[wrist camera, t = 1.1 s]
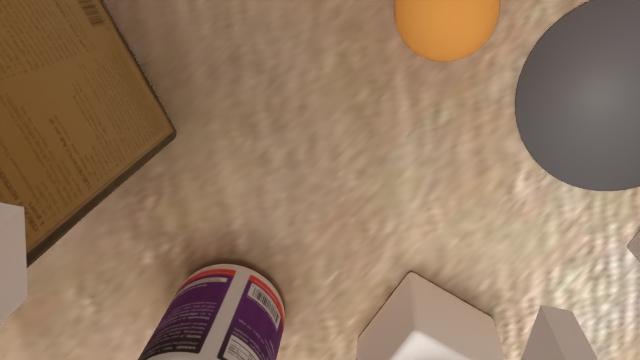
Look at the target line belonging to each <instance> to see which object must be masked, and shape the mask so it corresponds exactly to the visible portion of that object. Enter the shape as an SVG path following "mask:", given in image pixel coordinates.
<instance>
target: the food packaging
mask: <svg viewBox="0 0 640 360" xmlns="http://www.w3.org/2000/svg"><path fill="white" fill-rule="evenodd" d="M175 136H176V132H175V130H174V128H173V126H172V124H171V122H170V120H169V118H168V117H167V115H166V113H165V111H164V109H163V108H162V106H161V104H160V102H159V101H158V99H157V97H156V96H155V94H154V92H153V90H152V88H151V87H150V85H149V83H148V81H147V80H146V78H145V76H144V74H143V73H142V71H141V69H140V67H139V66H138V64H137V62H136V60H135V59H134V57H133V55H132V53H131V51H130V50H129V48H128V46H127V44H126V43H125V41H124V39H123V37H122V36H121V34H120V32H119V31H118V29H117V27H116V25H115V23H114V21H113V19H112V17H111V15H110V13H109V11H108V9H107V7H106V6H105V4H104V2H103V1H102V0H0V203H5V204H10V205H16V206H21V207H24V215H25V239H26V263H27V268H28V267H29V266H30V265H31V264H32V263H33V262H34V261H36V260H37V259H38V258H39V257H40V256H41V255H42V254H43V253H45V252H46V251H47V250H48V249H49V248H50V247H51V246H53V245H54V244H55V243H56V242H57V241H58V240H59V239H60V238H61V237H62V236H64V235H65V234H66V233H67V232H68V231H69V230H70V229H71V228H72V227H73V226H75V225H76V224H77V223H78V222H79V221H80V220H81V219H82V218H83V217H84V216H85V215H87V214H88V213H89V212H90V211H91V210H92V209H93V208H94V207H96V206H97V205H98V204H99V203H100V202H101V201H103V200H104V199H105V198H106V197H107V196H108V195H110V194H111V193H112V192H113V191H114V190H115V189H116V188H118V187H119V186H120V185H121V184H122V183H123V182H125V181H126V180H127V179H128V178H129V177H130V176H131V175H133V174H134V173H135V172H136V171H137V170H138V169H140V168H141V167H142V166H143V165H144V164H145V163H147V162H148V161H149V160H150V159H151V158H152V157H154V156H155V155H156V154H157V153H158V152H159V151H160V150H162V149H163V148H164V147H165V146H166V145H167V144H168V143H170V142H171V141H172V140H173V139H174V138H175Z"/></svg>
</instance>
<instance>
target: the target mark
mask: <svg viewBox="0 0 640 360" xmlns="http://www.w3.org/2000/svg"><path fill="white" fill-rule="evenodd" d="M515 115H516V121H517V126H518V130H519V133H520V136H521V139H522V141H523V143H524V145H525V147H526V149H527V150H528V151H529V153H530V154H531V156H532V157H533V159H534V160H535V161H536V162H537V163H538V164H539V165H540V166H541V167H542V168H543V169H544V170H546V171H547V172H548V173H549V174H551V175H552V176H554V177H555V178H557V179H559V180H561V181H563V182H565V183H567V184H570V185H572V186H575V187H579V188H583V189H588V190H595V191H617V190H626V189H631V188H635V187H639V186H640V0H592V1H589V2H587V3H585V4H583V5H581V6H579V7H577V8H576V9H574V10H572V11H571V12H569V13H568V14H566V15H565V16H564V17H562V18H561V19H560V20H559V21H557V22H556V23H555V24H554V25H553V26H552V27H551V28H550V29H549V30H548V31H547V32H546V33H545V34H544V35H543V36H542V38H541V39H540V40H539V41H538V43H537V44H536V45H535V47H534V48H533V50H532V51H531V53H530V55H529V57H528V59H527V60H526V62H525V64H524V67H523V69H522V72H521V75H520V78H519V82H518V86H517V90H516V99H515Z"/></svg>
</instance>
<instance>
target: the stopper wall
mask: <svg viewBox="0 0 640 360" xmlns="http://www.w3.org/2000/svg"><path fill="white" fill-rule="evenodd" d="M627 248H628V249H629V250H630V251H631V252H632V254H633V255H634V256H635V257H636V258H637V259H638V261H639V262H640V231H639V232H638V233H637V234H636V236H635V237H634V238H633V239H632V241H631V242H630V243H629V245H628V246H627Z"/></svg>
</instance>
